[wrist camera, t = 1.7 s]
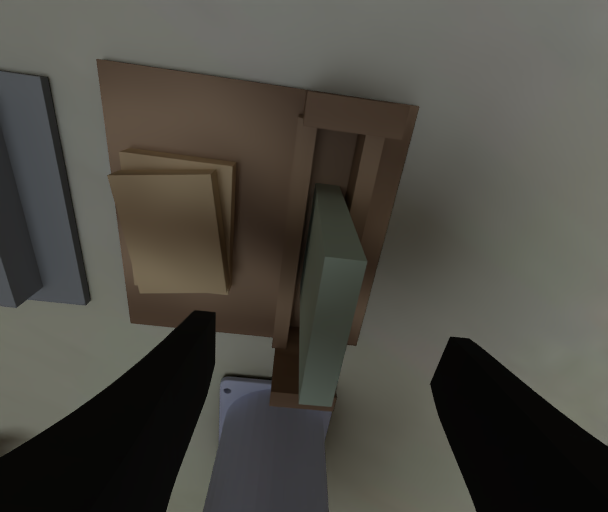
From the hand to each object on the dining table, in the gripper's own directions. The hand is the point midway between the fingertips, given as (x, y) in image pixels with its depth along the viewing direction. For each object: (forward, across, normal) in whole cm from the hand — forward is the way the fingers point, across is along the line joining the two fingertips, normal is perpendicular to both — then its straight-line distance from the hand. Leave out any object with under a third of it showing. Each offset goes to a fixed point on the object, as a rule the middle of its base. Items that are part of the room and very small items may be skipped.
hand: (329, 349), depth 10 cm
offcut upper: (+7, +7, 0) cm, 10 cm away
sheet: (+8, 0, 0) cm, 8 cm away
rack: (+9, +3, 0) cm, 9 cm away
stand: (+9, +17, 0) cm, 19 cm away
